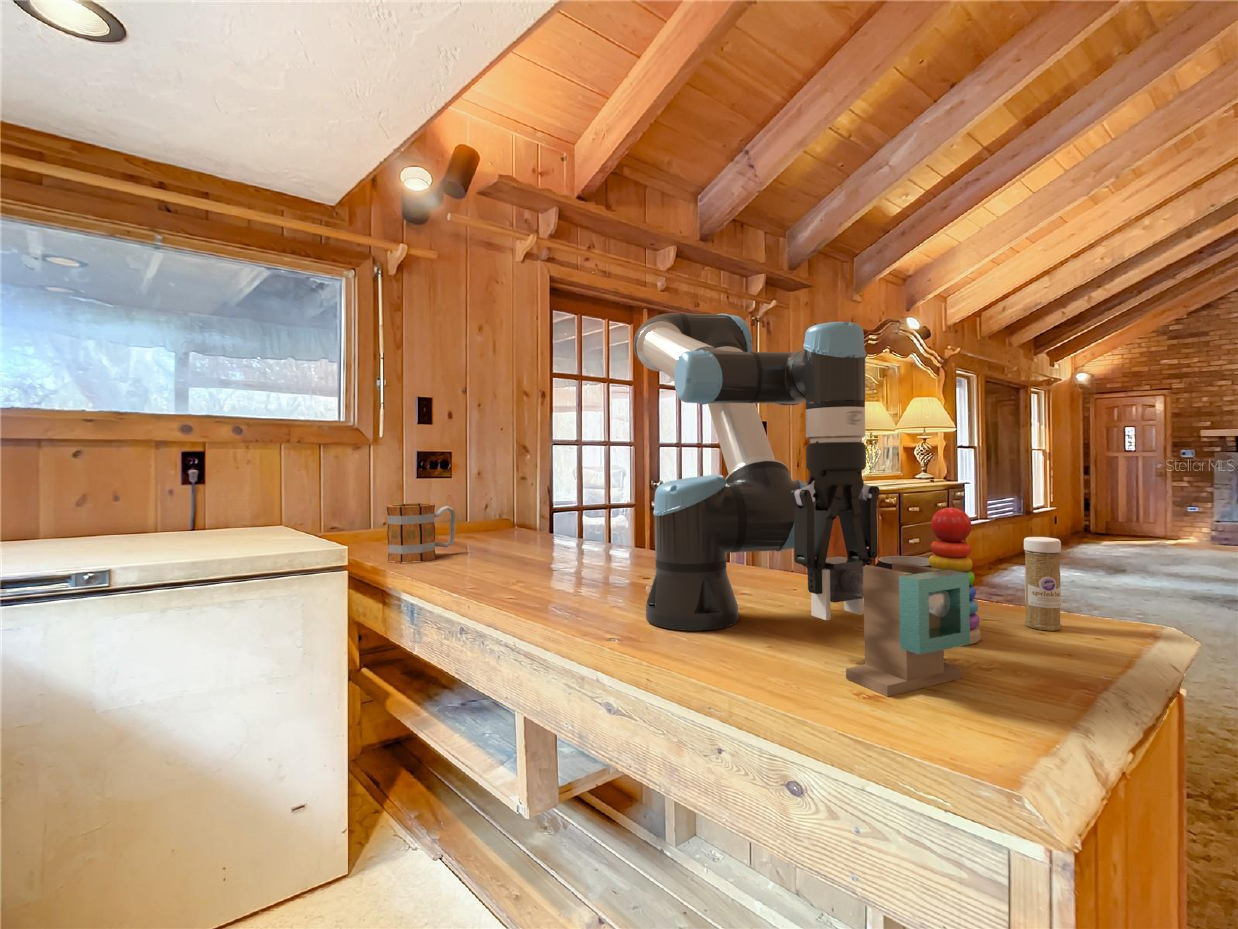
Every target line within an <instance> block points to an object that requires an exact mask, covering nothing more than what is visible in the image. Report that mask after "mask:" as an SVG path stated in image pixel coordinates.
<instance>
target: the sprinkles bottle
mask: <svg viewBox="0 0 1238 929" xmlns="http://www.w3.org/2000/svg"><path fill="white" fill-rule="evenodd" d="M1023 550H1024V554H1025V555H1024V557H1025V559H1024V560H1025V564H1024V565H1025V566H1024V568H1025V569H1024V604H1025V621H1024V624H1025V626H1027V627H1028V628H1031V629H1034V630H1035V629H1036V630H1040V631H1051V632H1052V631H1059V630H1062V624H1061V606H1062V602H1061V600H1062V598H1061V597H1062V594H1061V591H1062V590H1061V587H1062V586H1061V569H1060V567H1061V566H1060V564H1061V563H1060V559H1061V558H1060V555H1061V552H1062V541H1061V540H1060V539H1059V538H1054V537H1047V536H1028V537H1024V539H1023Z"/></svg>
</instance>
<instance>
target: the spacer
mask: <svg viewBox="0 0 1238 929" xmlns="http://www.w3.org/2000/svg"><path fill="white" fill-rule="evenodd" d="M942 590H945V591H947V592H948V594H949V596H950V600H951V605H950V609H949V611H948V613H947V614H946V615H945V616H943V617H940V622H941V627H939V628H934V629H929V592H935V591H942ZM899 607H900V648H901V649H904V650H907V651H910V652H913V653H916V654H919V655H920V654H925V653H930V652H935V651H940V650H944V651H945V650H948V649H954V648H959V647H963V646H969V645H971V644H970V612H969V573H965V572H959V571H953V570H942V571H935V572H927V573H919V574H911V575H903V576H899Z"/></svg>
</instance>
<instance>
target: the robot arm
mask: <svg viewBox="0 0 1238 929" xmlns="http://www.w3.org/2000/svg"><path fill="white" fill-rule="evenodd" d="M752 335H753V334H752V331H751V329H750V327H749V324H748V323H747V322H746V320H745V319H743V318H742V317H740V316H738V315H733V314H727V313H717V314H712V313H711V314H710V313H709V314H708V313H707V314H706V313H686V312H685V313H684V312H683V313H678V312H668V313H663V314H658V315H655V316H653V317H651V318H648V319H647V320H646V321H645V322H643V323H642V324H641V325H640V327H638V329H637V330H636V332H635V334H634V338H633V346H632V347H633V352H634V355H635V357H636V358H637V360H638V361H639V363H640V364H642V366H644V367H645V368H647V369H649V370H651V371H653V372H662V373H664V374H665V375H667V376H668V377H670V378H671V379H673V381H674V382H673V383H674V388H675V392H676V395H677V397H678V399H679V400H680V401H682V402H683V403H685V404H699V405H707V406H708V409H709V413H710V415H711V419H712V423H713V425H714V429H715V433H716V436H717V440H718V442H719V446H720V449H721V453H722V456H723V460H724V463H725V467H726V469H727V473H728V475H726V477H725V476H724V475H722V474H710V475H709V474H708V475H702V476H692V477H686V478H680V479H674V480H670V481H666V482H664V483H663V482H662V483H661V484H660V485H658V486H657V488H656V490H655V492H654V501H653V502H654V504H653V506H654V507H653V515H654V547H655V548H654V551H655V552H654V554H655V572H654V576H653V580H652V584H651V588H650V590H649V594H648V597H647V600H646V603H645V618H646V621H647V622H648V623H650V624H651V625H654V626H656V627H661V628H664V629H668V630H669V629H670V630H677V631H694V632H695V631H698V632H699V631H711V630H712V631H713V630H718V629H724V628H727V627H731V626H733V625H735V624H736V623H737V622H739V605H738V602H737V599H736V596H735V593H734V590H733V587H732V584H731V581H730V578H729V575H728V570H727V554H734V553H754V552H755V553H756V552H769V551H770V552H774V551H776V552H781V551H785V550H793V554H794V555H793V559H794V563H795V564H798V565H802V566H803V567H806V569H807V589H808V592H809V593H811V594H810V603H811V607H810V609H811V611H810V612H811V616H812V617H815V618H818V619H821V620H824V621H831V618H832V616H831V602H830V570H828V569H824V567H825V563H826V558H828V557H827V556H828V550H829V546H830V540H831V534H832V530H833V524H834V520H835V519H837V517H839V523H840V527H841V532H842V536H843V542H844V547H845V550H846V551H845V552H846V554H847V556H846V557H847V558H851V559H856V560H862V564H863V566H869V565H871V566H872V563H873V559H877V558H878V554H879V552H878V551H879V550H878V549H879V548H878V547H879V546H878V511H877V510H878V507H877V506H878V499H879V495H880V488H879V486H877V485H876V486H875V485H868V484H866V483H864V479H863V476H862V471H864V470H865V469H866V467H867V444H865V442H861V439H863V438H865V437H866V356H867V352H866V349H865V336H864V335H865V334H864V329H863V327H862V326H861V325H860V324H858V323H856V322H852V321H851V322H850V321H831V322H825V323H824V322H823V323H819V324H818V323H817V324H815V325H812V326H810V327H808V329H807V330H806V331H805V333H804V341H803V342H804V343H803V346H802V347H803V348H802V349H800V350H798V351H791V352H790V351H789V352H787V351H786V352H785V351H783V352H782V351H781V352H779V351H777V352H776V351H753V349H754V346H753V344H752V341H753V337H752ZM802 403H805V438H806V439H807V440H809V441H810V442H809V443H807V445H806V446H805V455H806V456H805V459H806V460H805V462H806V463H805V464H806V465H805V466H806V469H807V470H808V471H809V473H810V474H809V478H808V481H807V482H805V481H804V480H801V479H796V480H793V478H792V476H791V474H790V471H789V468H788V466H787V465H786V464H785V463H784V462H783V461H780V460H777V459H776V458H775V455H774V452H773V449H772V447H771V443H770V441H769V438H768V436H767V433H766V430H765V427H764V424H763V422H762V419H761V416H760V413H759V410H758V408H757V405H756V404H775V405H778V406H797V405H799V404H802ZM843 611H846V612H849V613H853V614H856V615H858V616H860V615H864V597H863V598H861V599H855V600H848V601H843Z"/></svg>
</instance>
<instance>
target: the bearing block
mask: <svg viewBox="0 0 1238 929" xmlns="http://www.w3.org/2000/svg"><path fill="white" fill-rule="evenodd" d="M935 571H942V569H936V568H931V567H925V566H920V565H914V564H909V563H903V562H894V563H892V569H887V568H882V567H876V566H875V565H872V564H871V565H865V566H863V584H864V597H863V626H864V627H863V631H864V633H863V634H864V639H863V640H864V642H863V643H864V645H863V646H864V664H861V665H857V666H851V667H848V668H845V679H846V680H849V681H851V682H853V683H855V684H857V685H860V686H863V687H864V688H867V689H869V690H871V691H874V692H876V693H878V694H881V695H883V696H885V697H892V696H894V695H900V694H903V693H904V694H905V693H908V692H911V691H914V690H920V689H923V688H927V687H931V686H936V685H939V684H943V683H947V682H948V683H949V682H952V681H955V680H959V679H962V678H963V676H962V672H963V671H962V669H963V668H962V667H960V666H957V665H954V664H950V663H948V662H946V661H945V660H944V659H945V658H944V657H945V655H944V654H945V653H944V652H945V649H944V650H940V651H935V652H930V653H925V654H920V655H919V654H916V653H913V652H910V651H907V650H904V649H901V648H900V607H899V576H903V575H911V574H919V573H927V572H935ZM939 627H941V622H940V617H938V616H934V615H930V614H929V629H934V628H939Z"/></svg>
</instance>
